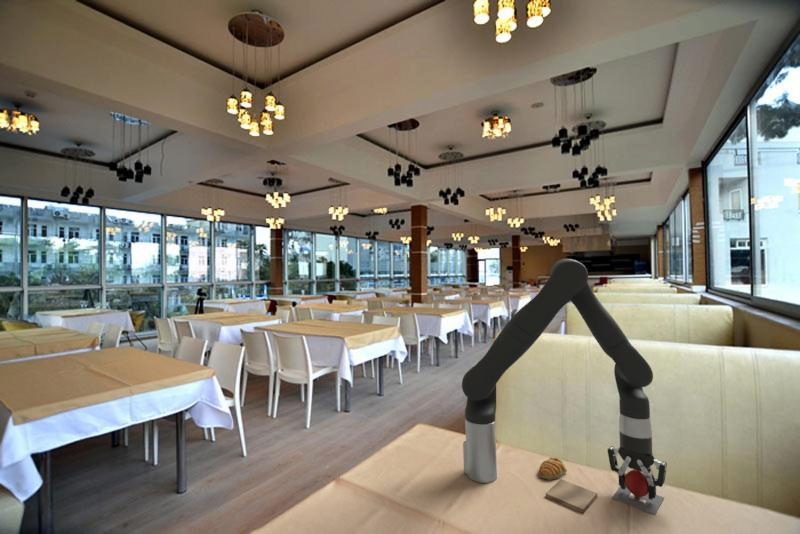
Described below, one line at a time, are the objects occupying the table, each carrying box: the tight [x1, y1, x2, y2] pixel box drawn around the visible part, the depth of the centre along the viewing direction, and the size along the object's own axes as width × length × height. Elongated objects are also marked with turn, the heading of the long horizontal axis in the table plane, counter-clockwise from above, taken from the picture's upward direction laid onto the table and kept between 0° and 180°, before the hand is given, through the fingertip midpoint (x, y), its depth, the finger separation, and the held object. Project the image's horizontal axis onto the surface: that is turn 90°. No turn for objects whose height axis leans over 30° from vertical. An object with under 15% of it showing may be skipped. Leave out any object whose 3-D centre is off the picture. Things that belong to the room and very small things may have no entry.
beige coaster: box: [545, 478, 598, 514], centre depth 101 cm, size 10×10×1 cm
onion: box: [624, 469, 649, 498], centre depth 100 cm, size 6×6×8 cm
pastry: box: [538, 457, 568, 481], centre depth 113 cm, size 9×7×4 cm
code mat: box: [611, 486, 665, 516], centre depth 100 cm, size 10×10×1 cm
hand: (637, 492), depth 100 cm, fingers closed on onion, 6 cm apart
